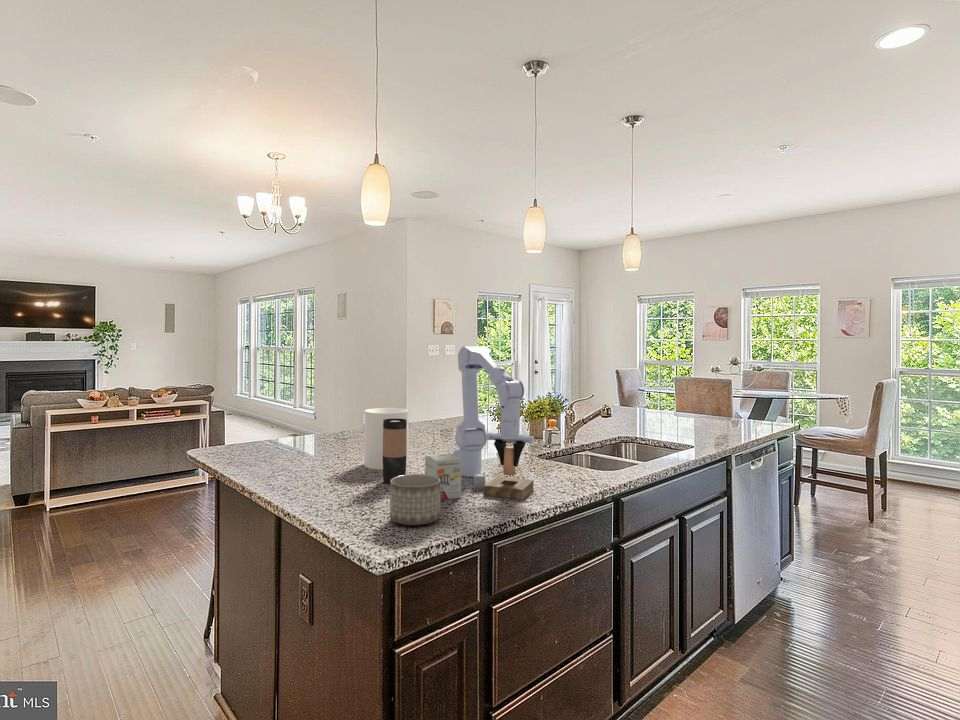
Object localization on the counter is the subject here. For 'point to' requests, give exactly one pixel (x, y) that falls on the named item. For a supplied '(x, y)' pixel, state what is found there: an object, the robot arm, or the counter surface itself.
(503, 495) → the socket block
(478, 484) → the short peg
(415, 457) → the counter surface
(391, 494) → the planter
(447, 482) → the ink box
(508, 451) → the long peg
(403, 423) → the travel mug
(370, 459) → the canister
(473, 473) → the robot arm
